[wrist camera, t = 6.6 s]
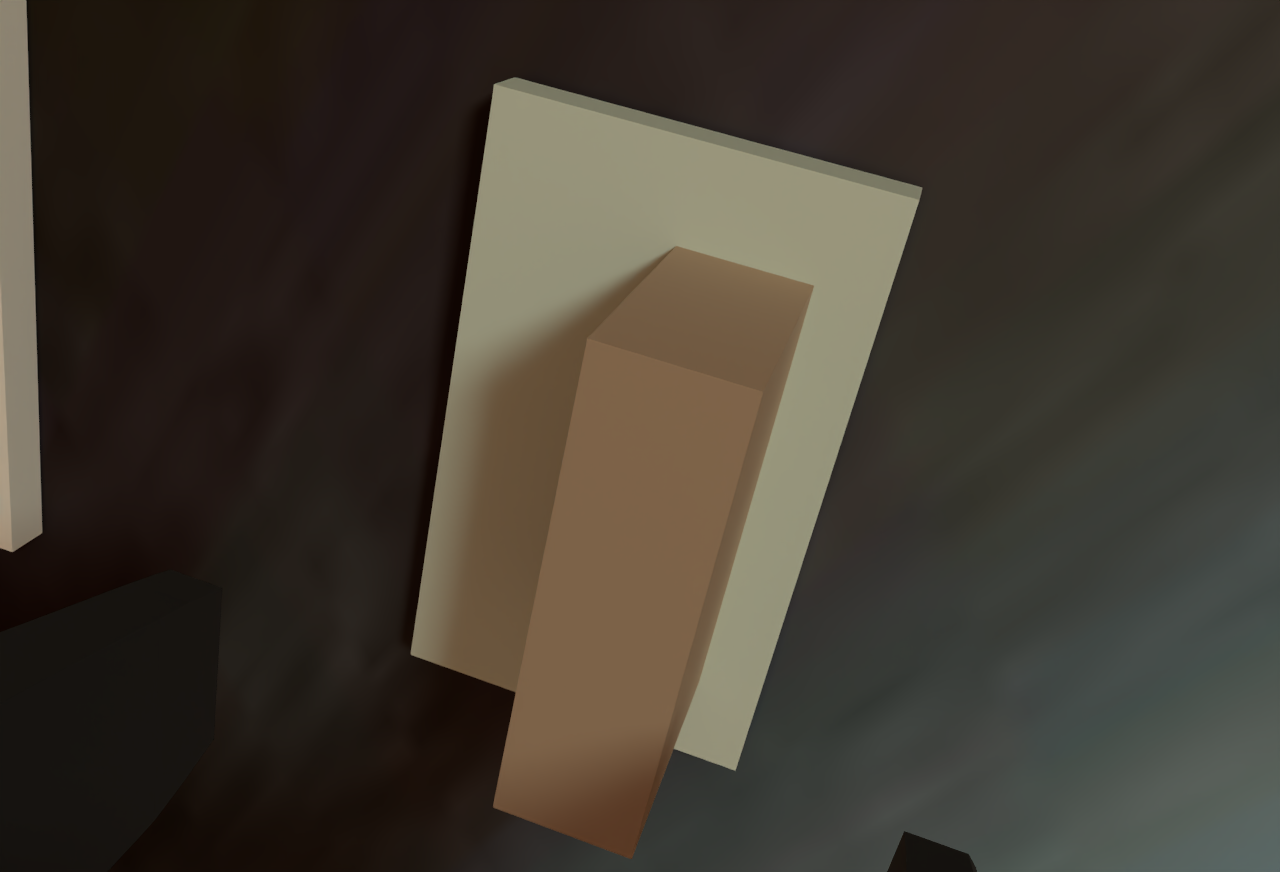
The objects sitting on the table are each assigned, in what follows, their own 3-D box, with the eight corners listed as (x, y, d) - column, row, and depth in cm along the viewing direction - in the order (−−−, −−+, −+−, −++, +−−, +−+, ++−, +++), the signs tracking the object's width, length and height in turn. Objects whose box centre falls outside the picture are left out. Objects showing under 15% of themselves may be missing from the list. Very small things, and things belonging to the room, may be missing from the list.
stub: (744, 741, 20) (677, 962, 16) (429, 630, 21) (287, 811, 17) (922, 187, 16) (897, 286, 12) (514, 77, 17) (350, 130, 12)
